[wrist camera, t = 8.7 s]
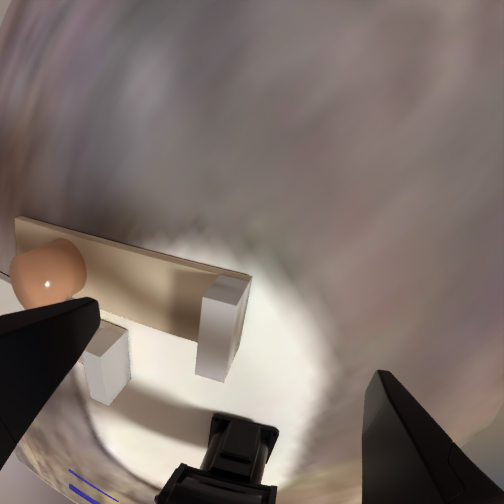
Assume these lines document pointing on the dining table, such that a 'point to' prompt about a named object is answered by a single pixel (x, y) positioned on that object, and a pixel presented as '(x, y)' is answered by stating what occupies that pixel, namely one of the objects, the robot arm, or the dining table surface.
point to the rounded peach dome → (48, 274)
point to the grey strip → (90, 351)
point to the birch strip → (157, 291)
